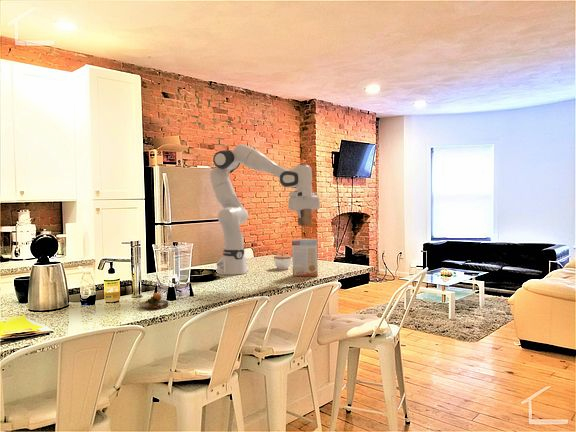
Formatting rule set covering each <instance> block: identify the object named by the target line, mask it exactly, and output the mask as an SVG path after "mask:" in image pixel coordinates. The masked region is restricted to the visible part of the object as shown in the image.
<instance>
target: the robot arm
mask: <svg viewBox="0 0 576 432" xmlns="http://www.w3.org/2000/svg"><path fill="white" fill-rule="evenodd" d="M212 161H213V164H214V165H215V166H216V167H214V168H213V169H211V170H210V172H209V178H210V183H211V185H212V189H213V191H214V192H213V193H214V194H215V196H216V200H217V202H218V203H219V204H220V205H221V206H222V207H223V209H221V210H219V211H218V215H217V220H218V222H219V224H220V225H221V228H222V232H223V238H224V239H223V240H224V249H223V250H222V256H221V258H220V259H218V261H217V262H216V268H215V269H213V270H216V272H217V274H218V275H221V276H223V275H225V276H226V275H231V276H233V275H234V276H235V275H243V274H246V273H247V272H249V268H247V258H246V257H245V248H244V234H243V233H242V231H241V227H240V225H242V224H244V223H245V222H246V221H247V220H248V218H249V212H248V210H247V209H246V208H245V207H244V206H243V205H242V203H241V201H240V200H239V198H238V197H237V195H236V192H235V189H234V187H233V184H232V181H231V179H230V176H229V174H232V173H233V172H234V171H235V170H236V169H238V168H239V167H240V164H241V165H244V166H245V167H247V168H248V169H251V170H252V171H253V170H254V171H257V172H265V173H268V174H271V175H274V176H275V177H277V178H279V183H280V185H281V186H283V187H284V188H290V189H291V188H292V189H296V190H293V191H291V192H289V193H288V197H289V199H288V205H287V206H288V209H289V211H296V213H297V219H298V218H302V215H301V214H300V212H301V210H307V209H311V212H312V213H313V210H319V209H320V208H321V206H320V204H321V203H320V198H319V197H320V196H319V194H318V193H316V192H315V193H313V186H312V182H313V171H312V168H311V166H310V165H308V164H304V163H303V164H302V163H298V164H297V165H296V166H294V167H293V168H290V169H287V168H284V167H282V166H280V165H279V164H277V163H275V162H274V161H273V160H271V159H270V158H269V157H267V156H266V155H264V154H263V153H262V152H261V151H259V150H257V149H256V148H254V147H252V146H249V145H246V144H243V143H239V144H237V145H236V146H235V148H233V150H229V149H226V150H218V151H217V152H215V153H214V155H213V158H212ZM216 272H215V273H216Z"/></svg>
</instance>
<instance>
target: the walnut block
mask: <svg viewBox="0 0 576 432" xmlns="http://www.w3.org/2000/svg"><path fill="white" fill-rule="evenodd" d="M300 214H301V215H302V218H298V217H297V226H302V227H310V226H312V225H313V223H312V217H313V216H312V214H313V212H311V209H307V210H301V212H300Z"/></svg>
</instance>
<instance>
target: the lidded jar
mask: <svg viewBox="0 0 576 432" xmlns="http://www.w3.org/2000/svg"><path fill="white" fill-rule="evenodd" d="M273 261H274V266H275V267H276V268H277V269H278V270H287V269H289V267H290V266H291V263H292V255H290V254H289V255H288V254H284V252H282V253H281V254H277V255H274V256H273Z"/></svg>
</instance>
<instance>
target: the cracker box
mask: <svg viewBox="0 0 576 432" xmlns="http://www.w3.org/2000/svg"><path fill="white" fill-rule="evenodd" d="M291 243H292V246H291V247H292V249H291V251H292V255H291V262H292V277H318V275H319V274H318V271H319V270H318V265H319V263H318V238H293V239H292V240H291Z"/></svg>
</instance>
